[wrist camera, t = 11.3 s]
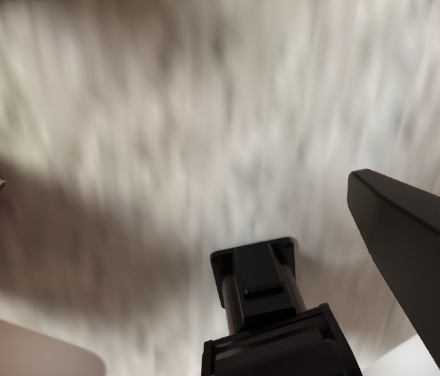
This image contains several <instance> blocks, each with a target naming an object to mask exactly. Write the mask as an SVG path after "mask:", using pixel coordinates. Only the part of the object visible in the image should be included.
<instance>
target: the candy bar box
mask: <svg viewBox="0 0 440 376" xmlns="http://www.w3.org/2000/svg"><path fill="white" fill-rule="evenodd" d="M5 183H6V181H5V180H4V179H3V178H1V177H0V191H1V189H2V188H3V186H4V185H5Z"/></svg>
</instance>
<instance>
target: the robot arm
mask: <svg viewBox="0 0 440 376" xmlns="http://www.w3.org/2000/svg"><path fill="white" fill-rule="evenodd" d="M347 203H348V207H349V210H350V212H351V214H352V216H353V218H354V221H355V223H356V225H357V227H358V229H359V231H360V234H361V236H362V238H363V240H364V242H365V244H366V247H367V249H368V251H369V253H370V255H371V257H372V259H373V261H374V263H375V264H376V266H377V268H378V270H379V271H380V273H381V274H382V276H383V278H384V279H385V281H386V283H387V284H388V286H389V288H390V289H391V291H392V292H393V294H394V296H395V297H396V299H397V301H398V302H399V304H400V305H401V307H402V309H403V310H404V312H405V314H406V315H407V317H408V319H409V320H410V322H411V323H412V325H413V327H414V328H415V330H416V332H417V333H418V335H419V336H420V338H421V340H422V341H423V343H424V345H425V346H426V348H427V349H428V351H429V353H430V354H431V356H432V358H433V359H434V361H435V363H436V364H437V366H438V367H439V369H440V197H439V196H436V195H434V194H431V193H429V192H426V191H424V190H421V189H419V188H416V187H413V186H411V185H408V184H406V183H403V182H401V181H398V180H396V179H393V178H390V177H388V176H385V175H383V174H380V173H378V172H375V171H373V170H370V169H361V170H356V171H352V172H351V173H350V174H349V177H348V191H347ZM287 243H288V244H287ZM285 244H287V245H285ZM215 258H218V259H215ZM210 261H211V265H212V269H213V273H214V277H215V281H216V286H217V290H218V294H219V298H220V302H221V306H222V308H224V309H225V310H226V317H227V323H228V329H229V336H226V337H223V338H220V339H217V340H214V341H213V340H209V341H206V342H204V351H203V354H202V368H201V376H363V375H362V373H361V370H360V368H359V366H358V363H357V361H356V359H355V356H354V354H353V352H352V350H351V348H350V346H349V344H348V342H347V340H346V338H345V336H344V334H343V332H342V331H341V329H340V327H339V325H338V323H337V321H336V319H335V317H334V315H333V313H332V311H331V309H330V308H329V306H328V304H327V303H324V304H320V305H319V307H316V308H313V309H310V310H306V307H305V305H304V302H303V299H302V297H301V294H300V292H299V289H298V287H297V284H296V278H295V259H294V244H293V241H292V239H291V238H288V237H286V238H281V239H276V240H271V241H266V242H261V243H256V244H251V245H246V246H242V247H237V248H232V249H227V250H222V251H217V252H214V253H212V254H211V255H210Z"/></svg>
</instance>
